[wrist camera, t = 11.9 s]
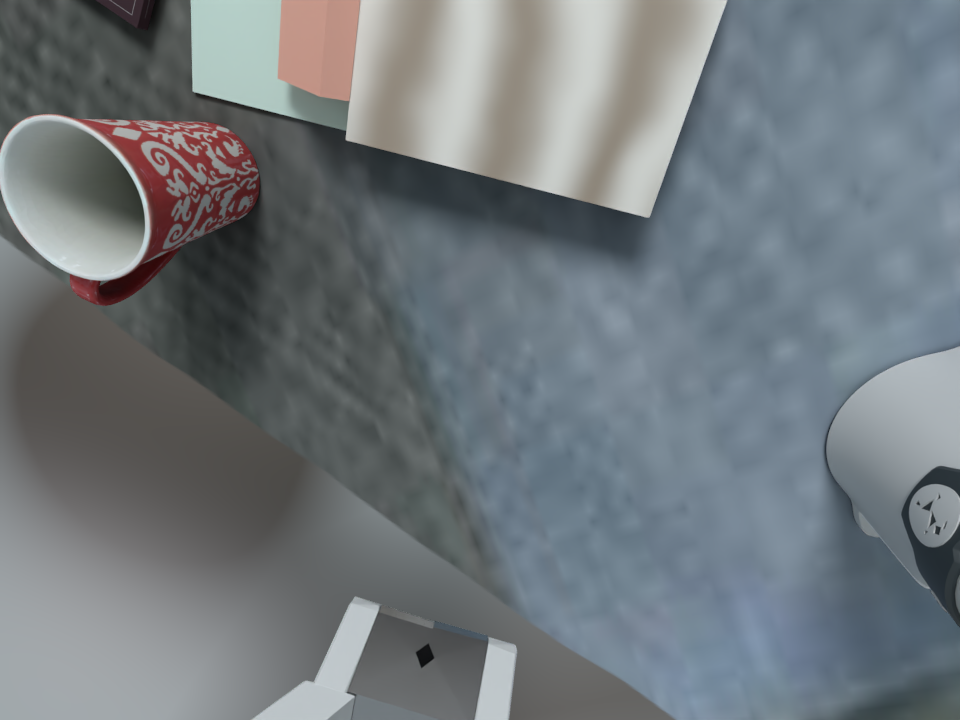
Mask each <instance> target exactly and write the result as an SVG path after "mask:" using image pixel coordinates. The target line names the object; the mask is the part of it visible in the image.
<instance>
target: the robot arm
mask: <svg viewBox="0 0 960 720" xmlns="http://www.w3.org/2000/svg"><path fill="white" fill-rule="evenodd" d="M826 454H827V461H828V465H829V468H830V471H831V473H832V475H833V477H834V478H835V480H836V481H837V483H838V484H839V485H840V486H841V488H842V489H843V490H844V491H845V492H846V493H847V495H848V496H849V497H850V499H851V501H852V507H853V514H854V518H855V521H856V523H857V525H858V526H859V527H860V528H861V529H862V531H863V532H864V533H865V534H867V535H869V536H872V537H878V538H881V539H882V541H883V542H884V543H885V544H886V545H887V547H888V548H889V549H890V550H891V552H892V553H893V554H894V555H895V556H896V558H897V559H898V560H899V561H900V562H901V564H902V565H903V566H904V567H905V568H906V570H907V571H908V572H909V573H910V574H911V576H912V577H913V578H914V579H915V580H916V581H917V582H918V583H919V584H920V585H921V586H923V587H925V588H927V589H931V593H932V595H933V596H934V597H935V599H936V600H937V602H938V603H939V604H940V606H941V607H942V608H943V609H944V611H945V612H946V613H947V612H948V614H949V615H950V616H951V617H952V618H953V620H954V621H955V622H956V623H957V625H958V626H959V627H960V346H959V347H956V348H953V349H950V350H947V351H943V352H939V353H934V354H930V355H925V356H921V357H918V358H914V359H911V360H908V361H906V362H903V363H901V364H898V365H896V366H894V367H891V368H889V369H887V370H886V371H884V372H882V373H880V374H879V375H877V376H875V377H874V378H872V379H871V380H869V381H868V382H867V383H865V384H864V385H863V386H861V387H860V388H859V389H858V390H857V391H856V392H855V393H854V394H853V395H852V396H851V397H850V398H849V399H848V400H847V401H846V402H845V404H844V405H843V406H842V407H841V409H840V410H839V412H838V413H837V415H836V417H835V419H834V421H833V423H832V425H831V428H830V431H829V434H828V438H827V446H826ZM516 655H517V649H516V646H515V644H511V643H508V642H504V641H501V640H497V639H493V638H490V637H488V636H487V635H483V634H480V633H476V632H472V631H469V630H465V629H462V628H458V627H455V626H451V625H448V624H444V623H441V622H437V621H435V622H433V621H430V620H427V619H424V618H421V617H418V616H414V615H412V614H409V613H406V612H402V611H399V610H396V609H393V608H390V607H387V606H384V605H381V604H378V603H375V602H371V601H368V600H365V599H362V598H358V597H355V598H354V599H353V600H352V602H351V603H350V604H349V607H348V609H347V611H346V613H345V615H344V617H343V620H342V622H341V624H340V627H339V629H338V631H337V633H336V635H335V637H334V639H333V641H332V644H331V646H330V648H329V650H328V653H327V655H326V657H325V659H324V661H323V663H322V665H321V668H320V670H319V672H318V674H317V676H316V679H315V681H314V682H310V681H306V680H305V681H304V682H302V683H301V684H300V685H298V686H297V687H295V688H294V689H293V690H291V691H290V692H288V693H287V694H286V695H285V696H283V697H282V698H281V699H279V700H277V701H276V702H275V703H273V704H272V705H271V706H269V707H268V708H267V709H265V710H264V711H262V712H261V713H260V714H258V715H257V716H256V717H254V718H253V719H252V720H509V715H510V706H511V698H512V689H513V681H514V672H515V664H516Z"/></svg>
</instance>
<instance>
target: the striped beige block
mask: <svg viewBox="0 0 960 720" xmlns="http://www.w3.org/2000/svg"><path fill="white" fill-rule="evenodd" d="M726 2H727V0H360V5H359V15H358V24H357V33H356V43H355V52H354V61H353V71H352V80H351V90H350V100H349V110H348V121H347V131H346V140H347V141H351V142H355V143H359V144H363V145H366V146H370V147H374V148H378V149H382V150H386V151H390V152H394V153H398V154H401V155H405V156H409V157H413V158H417V159H421V160H425V161H429V162H433V163H437V164H440V165H444V166H448V167H452V168H456V169H460V170H464V171H468V172H472V173H475V174H479V175H483V176H487V177H491V178H495V179H499V180H503V181H507V182H511V183H514V184H518V185H522V186H526V187H530V188H534V189H538V190H542V191H546V192H549V193H553V194H557V195H561V196H565V197H569V198H573V199H577V200H581V201H585V202H588V203H592V204H596V205H600V206H604V207H608V208H612V209H616V210H620V211H623V212H627V213H631V214H635V215H639V216H643V217H647V218H649V217H650V215H651V212H652V209H653V206H654V203H655V201H656V198H657V195H658V192H659V189H660V187H661V184H662V181H663V178H664V175H665V173H666V170H667V167H668V164H669V161H670V159H671V156H672V153H673V150H674V147H675V145H676V142H677V139H678V136H679V134H680V131H681V128H682V125H683V122H684V120H685V117H686V114H687V111H688V108H689V106H690V103H691V100H692V97H693V94H694V92H695V89H696V86H697V83H698V80H699V78H700V75H701V72H702V69H703V66H704V64H705V61H706V58H707V55H708V52H709V50H710V47H711V44H712V41H713V38H714V36H715V33H716V30H717V27H718V24H719V22H720V19H721V16H722V13H723V11H724V8H725V5H726Z"/></svg>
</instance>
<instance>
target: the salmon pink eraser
mask: <svg viewBox="0 0 960 720" xmlns="http://www.w3.org/2000/svg"><path fill="white" fill-rule="evenodd" d="M359 5H360V0H281V19H280V39H279V58H278V79H280V80H282V81H285V82H287V83H289V84H292V85H294V86H296V87H299V88H301V89H303V90H306V91H308V92H310V93H312V94H315V95H317V96H319V97H325V98H331V99H338V100H344V101H349V99H350V89H351V80H352V71H353V61H354V52H355V43H356V33H357V24H358V15H359Z"/></svg>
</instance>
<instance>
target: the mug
mask: <svg viewBox="0 0 960 720" xmlns="http://www.w3.org/2000/svg"><path fill="white" fill-rule="evenodd" d="M259 185H260V180H259V173H258V169H257V165H256V162H255V160H254V158H253V156H252V154H251V152H250V151H249V149H248V148H247V146H246V145H245V144H244V142H243V141H242V140H241V139H240V138H239V137H238V136H236V135H235V134H234V133H233V132H231V131H230V130H229V129H227V128H225V127H222V126H220V125H218V124H214V123H209V122H174V121H150V120H144V121H137V120H110V119H107V120H106V119H74V118H71V117H67V116H62V115H55V114H42V115H35V116H31V117H28V118H26V119H25V120H23V121H21V122H19V123H18V124H17V125H15V126H14V127H13V128H12V129H11V130H10V132H9V133H8V134H7V136H6V138H5V139H4V142H3V144H2V147H1V150H0V189H1V193H2V196H3V200H4V202H5V205H6V208H7V210H8V213H9V215H10V217H11V218H12V220H13V222H14V224H15V225H16V227H17V228H18V230H19V231H20V233H21V234H22V236H23V237H24V238H25V239H26V241H27V242H28V243H29V244H30V245H31V246H32V247H33V248H34V249H35V250H36V251H37V252H38V253H39V254H40V255H42V256H43V257H44V258H45V259H46V260H48V261H49V262H50V263H52V264H53V265H55V266H56V267H58V268H60V269H62V270H64V271H66V272H68V273H70V284H71V288H72V290H73V291H74V292H75V293H76V294H77V295H78V296H79V297H81V298H82V299H85V300H87V301H89V302H91V303H94V304H96V305H102V306H107V305H112V304H115V303H118V302H120V301H122V300H124V299H126V298H128V297H130V296H131V295H133V294H134V293H136V292H137V291H138V290H140V289H141V288H142V287H143V286H145V285H146V284H147V283H148V282H149V281H150V280H151V279H152V278H153V277H155V276H156V275H157V274H158V273H159V272H160V271H161V269H162V268H163V267H164V266H165V265H166V264H167V263H168V262H169V261H170V260H171V259H172V258H173V256H174V255H175V254H176V253H177V252H178V251H179V249H180V248H181V247H182V246H183V245H184V244H186V243H188V242H190V241H193V240H195V239H197V238H199V237H202V236H204V235H206V234H208V233H210V232H212V231H214V230H217V229H219V228H221V227H223V226H226V225H228V224H230V223H232V222H235V221H237V220H239V219H241V218H242V217H244V216H245V215H246V214H247V213H248V212H250V210H251V209H252V208H253V206H254V205H255V203H256V201H257V198H258V194H259ZM109 280H110V281H109ZM100 281H108V282H106V283H105V284H103V285H101V286H99V285H100Z"/></svg>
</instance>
